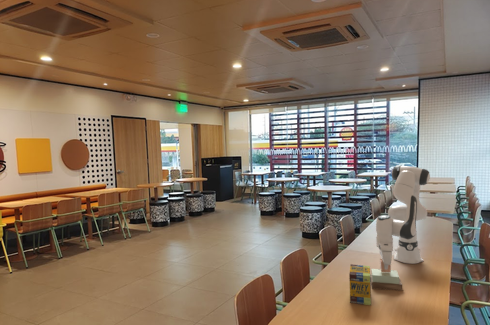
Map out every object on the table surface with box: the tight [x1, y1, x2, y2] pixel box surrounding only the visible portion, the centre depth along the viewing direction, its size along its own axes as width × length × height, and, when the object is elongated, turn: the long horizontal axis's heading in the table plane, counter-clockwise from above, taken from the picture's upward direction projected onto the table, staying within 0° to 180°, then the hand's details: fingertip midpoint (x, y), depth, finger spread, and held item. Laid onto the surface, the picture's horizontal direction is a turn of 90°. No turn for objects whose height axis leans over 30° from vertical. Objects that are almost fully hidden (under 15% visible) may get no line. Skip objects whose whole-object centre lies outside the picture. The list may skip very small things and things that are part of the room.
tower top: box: [371, 268, 400, 284], centre depth 189 cm, size 10×14×4 cm
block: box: [379, 258, 392, 272], centre depth 188 cm, size 5×5×6 cm
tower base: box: [370, 274, 404, 292], centre depth 190 cm, size 12×16×4 cm
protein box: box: [348, 263, 372, 306], centre depth 175 cm, size 10×15×16 cm
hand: (385, 267), depth 188 cm, fingers closed on block, 5 cm apart
